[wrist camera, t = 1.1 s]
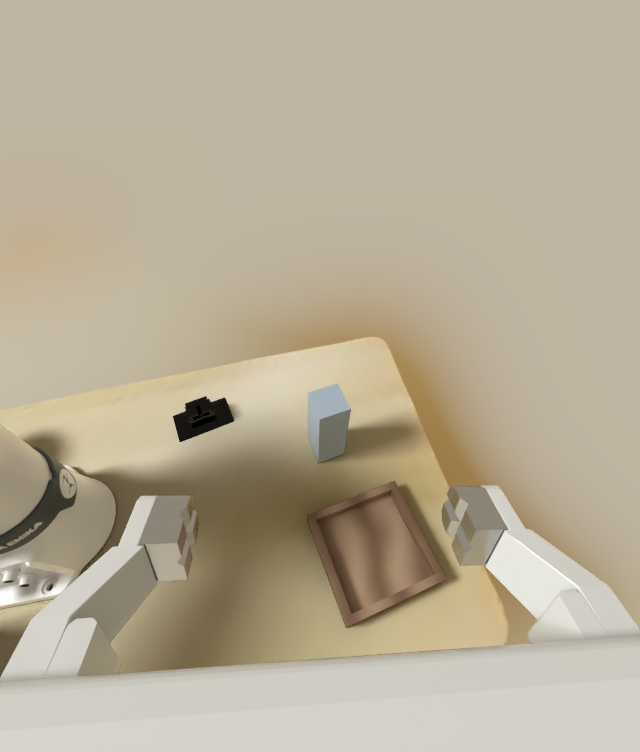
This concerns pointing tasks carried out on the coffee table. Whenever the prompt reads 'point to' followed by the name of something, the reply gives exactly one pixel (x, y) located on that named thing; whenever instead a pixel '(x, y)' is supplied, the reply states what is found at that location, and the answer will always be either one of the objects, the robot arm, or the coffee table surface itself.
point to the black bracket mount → (202, 417)
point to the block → (328, 422)
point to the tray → (373, 552)
